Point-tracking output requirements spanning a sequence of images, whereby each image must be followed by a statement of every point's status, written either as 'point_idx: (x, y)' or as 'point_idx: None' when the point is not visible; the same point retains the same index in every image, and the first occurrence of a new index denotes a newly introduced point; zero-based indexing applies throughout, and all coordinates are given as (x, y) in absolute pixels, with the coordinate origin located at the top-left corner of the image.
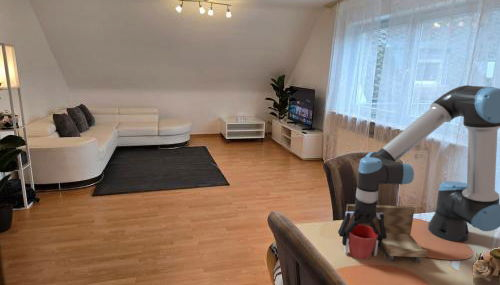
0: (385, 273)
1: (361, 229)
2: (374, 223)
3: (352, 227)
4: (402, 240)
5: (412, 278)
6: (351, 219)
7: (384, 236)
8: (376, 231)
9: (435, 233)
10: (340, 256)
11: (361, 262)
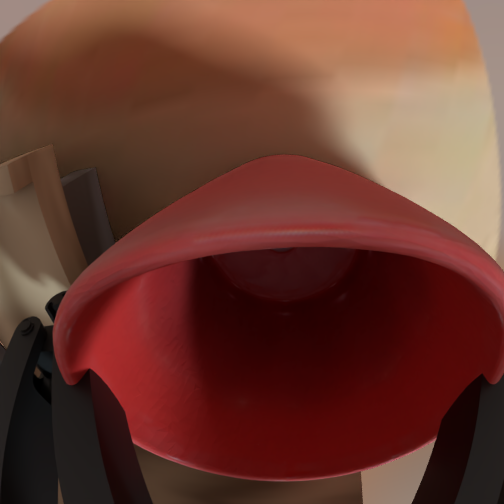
0: (148, 5)
1: (254, 437)
2: (138, 458)
3: (496, 462)
4: (7, 316)
5: (24, 32)
6: (323, 499)
7: (26, 336)
8: (69, 416)
9: (3, 353)
10: (441, 193)
11: (309, 112)
